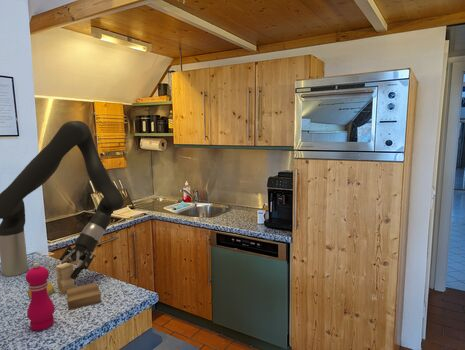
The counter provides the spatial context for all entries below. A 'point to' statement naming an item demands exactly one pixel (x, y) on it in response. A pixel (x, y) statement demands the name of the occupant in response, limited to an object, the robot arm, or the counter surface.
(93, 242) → the robot arm
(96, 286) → the walnut block
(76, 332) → the counter surface
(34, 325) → the pepper mill
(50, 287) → the bread roll
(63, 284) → the beech block
